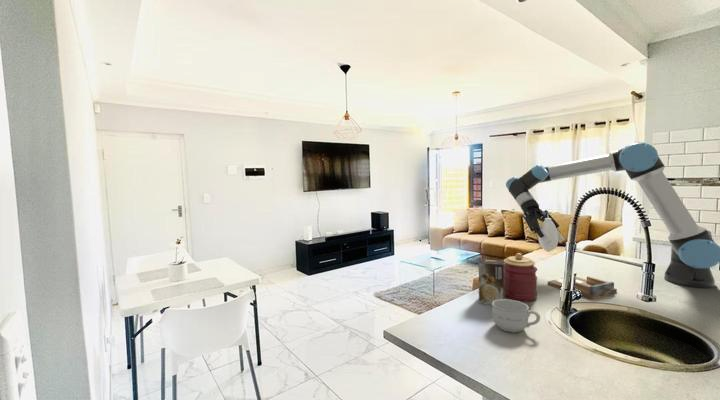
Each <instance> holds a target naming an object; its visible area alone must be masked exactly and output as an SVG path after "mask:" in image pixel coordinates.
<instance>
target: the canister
mask: <svg viewBox="0 0 720 400" xmlns="http://www.w3.org/2000/svg"><path fill="white" fill-rule="evenodd" d="M503 262H504V298H505V299H508V300H515V301H519V302H522V303H524V302H532V301H535V300H536V299H537V296H538V294H537V293H538V291H537V287H538V286H537V284H538V283H537V279H538V276H537V271H538V268H537V267H536V266H535V265H536V262H535V261H533V260H532V259H531V258H529V257H525V256H523V254H522V253H520V252H517V253H516V254H515V255H512V256H508V257H506V258H504V259H503Z"/></svg>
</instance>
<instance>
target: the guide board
mask: <svg viewBox="0 0 720 400" xmlns="http://www.w3.org/2000/svg"><path fill="white" fill-rule="evenodd" d="M575 277H576V282H575V288H576V289H578V290H580V291H581V294H582V298H584V299H588V300H593V299H597V298H600V297H601V298H602V297H604V296H608V295H612V294H616V293H617V292H618V289H617V288H615V282H614V281H605V280H603V279H599V278H595V277H591V276H586V279H584V278H581V277H577V276H575ZM563 278H564V277H562V278H557V279H552V280H547V285H548V286H550V287H553V288H556V289H559V290H561V289H560V288H561V287H562V281H563Z"/></svg>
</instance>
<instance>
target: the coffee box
mask: <svg viewBox="0 0 720 400" xmlns="http://www.w3.org/2000/svg"><path fill="white" fill-rule="evenodd" d="M504 263H505V262H504V260H503V259H502V260H500V259H486V258H485V259H483V258H478V304H483V305H491V306H493V305H492V302H493V301H495V300H499V299H505V297H504Z"/></svg>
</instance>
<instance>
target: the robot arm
mask: <svg viewBox="0 0 720 400" xmlns="http://www.w3.org/2000/svg"><path fill="white" fill-rule="evenodd" d="M665 167H666V166H665V164H664V163H663V161H662V159H661V158H660V156H659V154H658V150H657V149H656V148H655V146H653V145H652V144H650V143H647V142H640V141H638V142H633V143H630V144H628V145H626V146H624V148H620V149H618V150H612V151H610V152H609V153H608V154H604V155H599V156H594V157H588V158H583V159H580V160H579V159H578V160H573V161H569V162H564V163H559V164H555V165H549V166H545V167H544V166H543V165H541V164H540V163H539V164H536V165H535V166H533V167H531V169H529V170H528V171H527V172H526V173H524V174H523V175H522V176H520V177H518V176H513V177H511V178H509V179H508V180H507V181H506V183H505V187H506V188H507V190H508V192H509V193H510V195H511V196H512V197H513V199H514V200H515V202H516V203H517V204H518V206H519V208H520V209H521V211H522V212H523V213H522V215H521V216H522V218H523V219H524V220H525V222H526V224H527V226H528V227H529V230H530V232H533V233H534V234H537V235H539V237H540V238H542V240H543V241H544V243H545V244H548V243H549V242H550V239H549V238H548V237H547V235H546V234H545V233H544V232H543V230H542V229H541V230H540V227H541V225H540V223H539V221H540V222H542V223H543V222H544V221H545V218H547V214H548V216H549V218H551V221H552V222H553V223H554V225H555V227H556V229H557V232H558V244H559V243H563V242H564V241H565V240H566V239H565V238H564V237H563V235H562V233H561V232H560V230H559V229H558V228H559V227H560V224H559V223H558V222H557V221H556V220H555V219H554V218H553V217H552V215H551V214H550V213H549V211H548V210H547V209H546V210H542V209H541V208H540V205H539V203H538V201H537V200H536V199H535V197H534V196H533V195H532V194H531V192H530V191H529V190H531V189H533V187H535V186H537V185H538V184H541V183H547V182H550V181H556V180H564V179H569V178H575V177H579V176H586V175H592V174H597V173H603V172H609V171H613V172H621V171H622V172H623V171H625V172H626V174H627V177H629V179H630V180H631V181H636V182H637V183H638V185H639V186H640V188H641V189H642V190H643V191H642V192H644V194H645V196H646V198H647V199H648V201H649V202H650V204H651V206H652V208H653V209H654V210H655V211H656V213H657V215H658V217H659V218H660V219H661V221H662V223H663V225H664V226H665V227H666V229H667V231H668V233H669V236H668V237H667V239H668V241H669V243H670V244H671V248H670V249H671V250H670V262H669V264H668V266H667V268H666V269H665V272H664V275H663V276H664V280H666V281H668V282H670V283H673V284H676V285H681V286H686V287H692V288H693V287H694V288H702V289H703V288H705V289H709V288H714V287H715V284H716V281H715V277H714V275H713V272H712V270H711V268H712V267H715V266H716V265H718V264H719V263H720V245H718V244H717V243H716V242H715V240H714V239H713V234H712V232H711V231H710V230H707V228H705V227H703V226H700V225H698V224H697V222H696V221H695V219H694V218H693V216H692V214H691V213H690V212H689V210H688V208H687V207H686V205H685V204H684V202H683V201H682V199H681V197H679V195H678V193H677V192H676V190H675V189H674V187H673V186H672V184H671V183H670V181H669V179H668V178H667V176H666V174H664V170H665Z"/></svg>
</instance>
